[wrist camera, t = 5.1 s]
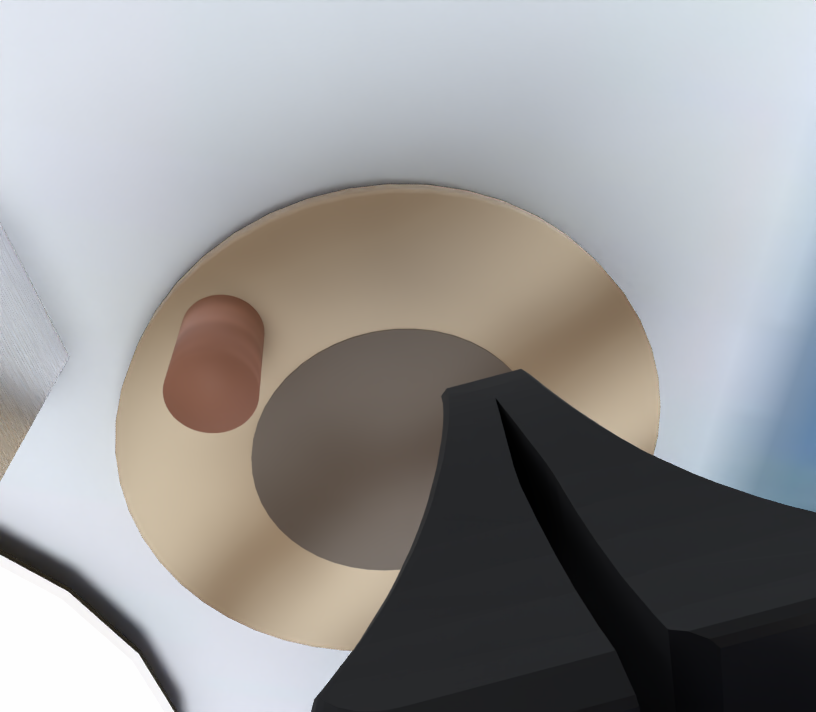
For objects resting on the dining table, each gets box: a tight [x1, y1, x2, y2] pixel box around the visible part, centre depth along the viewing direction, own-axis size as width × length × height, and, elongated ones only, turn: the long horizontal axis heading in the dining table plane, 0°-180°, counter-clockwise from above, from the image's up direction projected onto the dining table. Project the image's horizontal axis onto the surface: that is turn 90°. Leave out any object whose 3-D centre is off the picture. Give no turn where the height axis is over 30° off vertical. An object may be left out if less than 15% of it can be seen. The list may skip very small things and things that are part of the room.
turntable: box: [115, 184, 660, 651], centre depth 21 cm, size 15×15×4 cm
